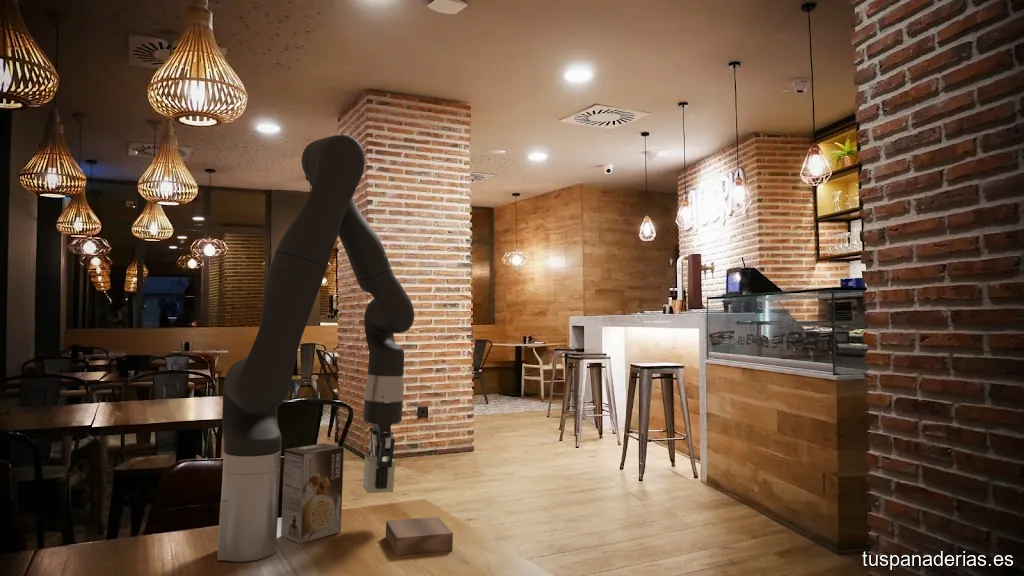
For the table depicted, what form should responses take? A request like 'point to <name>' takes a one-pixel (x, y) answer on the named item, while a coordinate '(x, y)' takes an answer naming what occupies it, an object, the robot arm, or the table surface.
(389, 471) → the sage block
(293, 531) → the coffee box
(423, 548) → the walnut plinth
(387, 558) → the table surface
